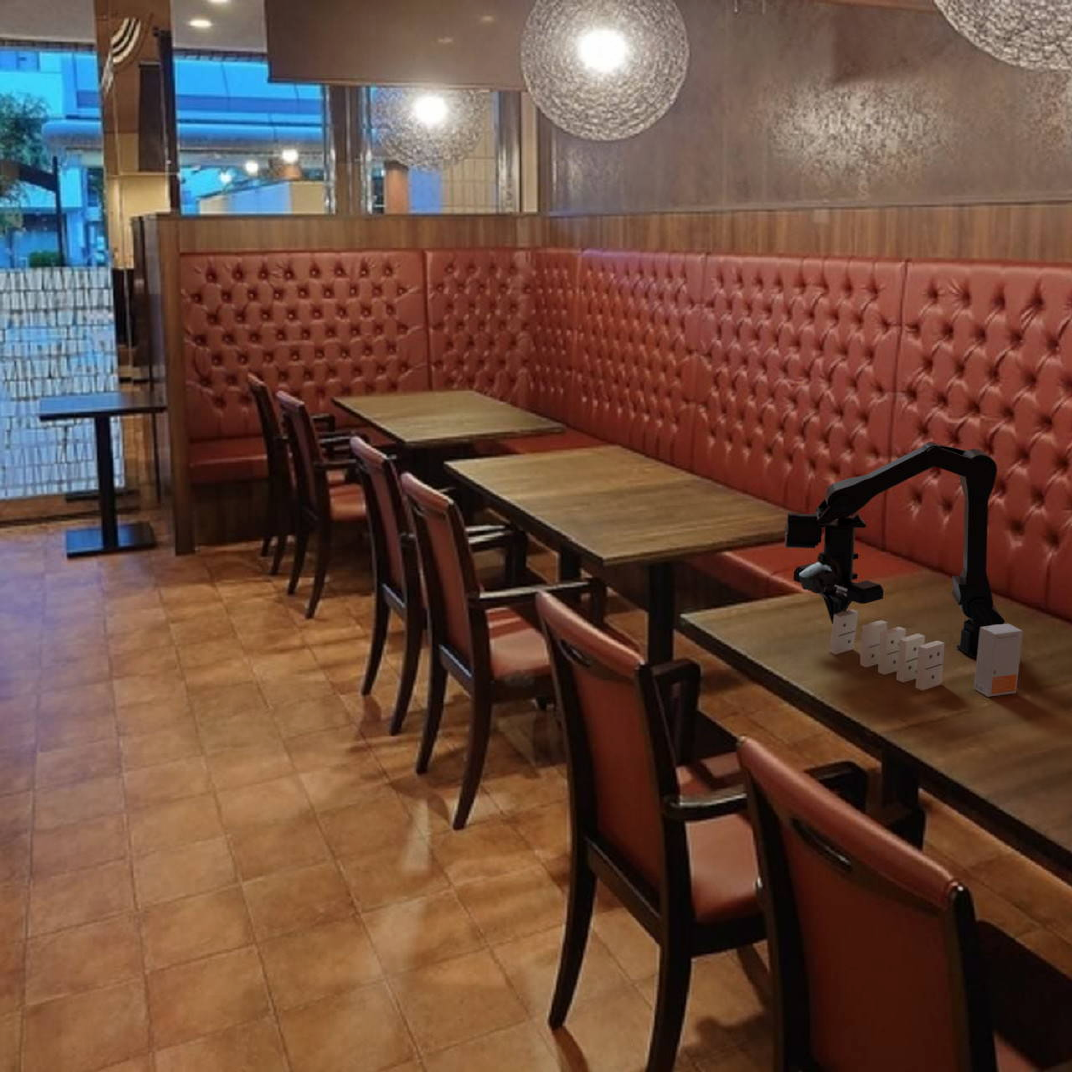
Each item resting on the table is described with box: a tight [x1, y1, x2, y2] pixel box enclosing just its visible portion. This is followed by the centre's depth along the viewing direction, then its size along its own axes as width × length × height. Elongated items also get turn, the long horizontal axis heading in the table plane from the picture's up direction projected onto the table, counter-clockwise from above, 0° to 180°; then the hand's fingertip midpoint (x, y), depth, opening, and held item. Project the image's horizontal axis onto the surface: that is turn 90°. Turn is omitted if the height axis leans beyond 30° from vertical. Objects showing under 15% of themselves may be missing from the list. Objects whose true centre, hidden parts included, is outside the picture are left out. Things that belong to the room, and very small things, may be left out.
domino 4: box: [895, 633, 926, 683], centre depth 208 cm, size 2×5×8 cm, turn 122°
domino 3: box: [877, 626, 907, 676], centre depth 212 cm, size 2×5×8 cm, turn 122°
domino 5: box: [915, 640, 945, 691], centre depth 204 cm, size 2×5×8 cm, turn 122°
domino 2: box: [859, 619, 888, 668], centre depth 215 cm, size 2×5×8 cm, turn 122°
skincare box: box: [973, 623, 1024, 698], centre depth 201 cm, size 6×4×12 cm
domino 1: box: [828, 608, 859, 655], centre depth 221 cm, size 2×5×8 cm, turn 123°
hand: (835, 624), depth 223 cm, fingers closed
